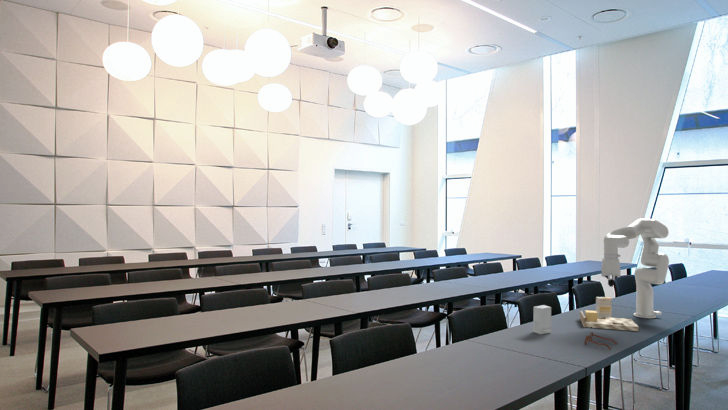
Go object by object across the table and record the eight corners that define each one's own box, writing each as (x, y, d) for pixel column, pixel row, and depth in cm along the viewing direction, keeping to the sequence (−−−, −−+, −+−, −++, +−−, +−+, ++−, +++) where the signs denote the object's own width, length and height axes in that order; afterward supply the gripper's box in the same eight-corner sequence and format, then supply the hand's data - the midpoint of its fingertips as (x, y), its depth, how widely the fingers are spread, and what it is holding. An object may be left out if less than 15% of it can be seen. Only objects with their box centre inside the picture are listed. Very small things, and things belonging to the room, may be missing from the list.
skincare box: (543, 330, 279) (543, 304, 279) (551, 333, 274) (551, 306, 274) (532, 332, 276) (532, 305, 276) (540, 334, 270) (540, 308, 270)
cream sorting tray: (631, 323, 298) (631, 314, 298) (638, 331, 279) (638, 321, 279) (579, 319, 307) (580, 310, 307) (583, 326, 288) (583, 317, 288)
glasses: (590, 340, 261) (591, 331, 261) (617, 345, 253) (617, 335, 253) (584, 345, 251) (584, 336, 251) (611, 350, 243) (611, 340, 243)
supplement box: (608, 317, 314) (609, 296, 314) (611, 318, 309) (612, 298, 309) (595, 316, 315) (595, 296, 315) (598, 318, 310) (598, 297, 310)
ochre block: (595, 318, 298) (595, 310, 298) (597, 321, 292) (597, 312, 292) (585, 318, 300) (585, 310, 300) (586, 320, 294) (586, 312, 294)
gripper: (623, 256, 299) (623, 285, 299) (596, 255, 304) (596, 284, 304) (625, 257, 292) (625, 287, 292) (598, 256, 296) (598, 287, 297)
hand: (611, 286), depth 298 cm, fingers closed
